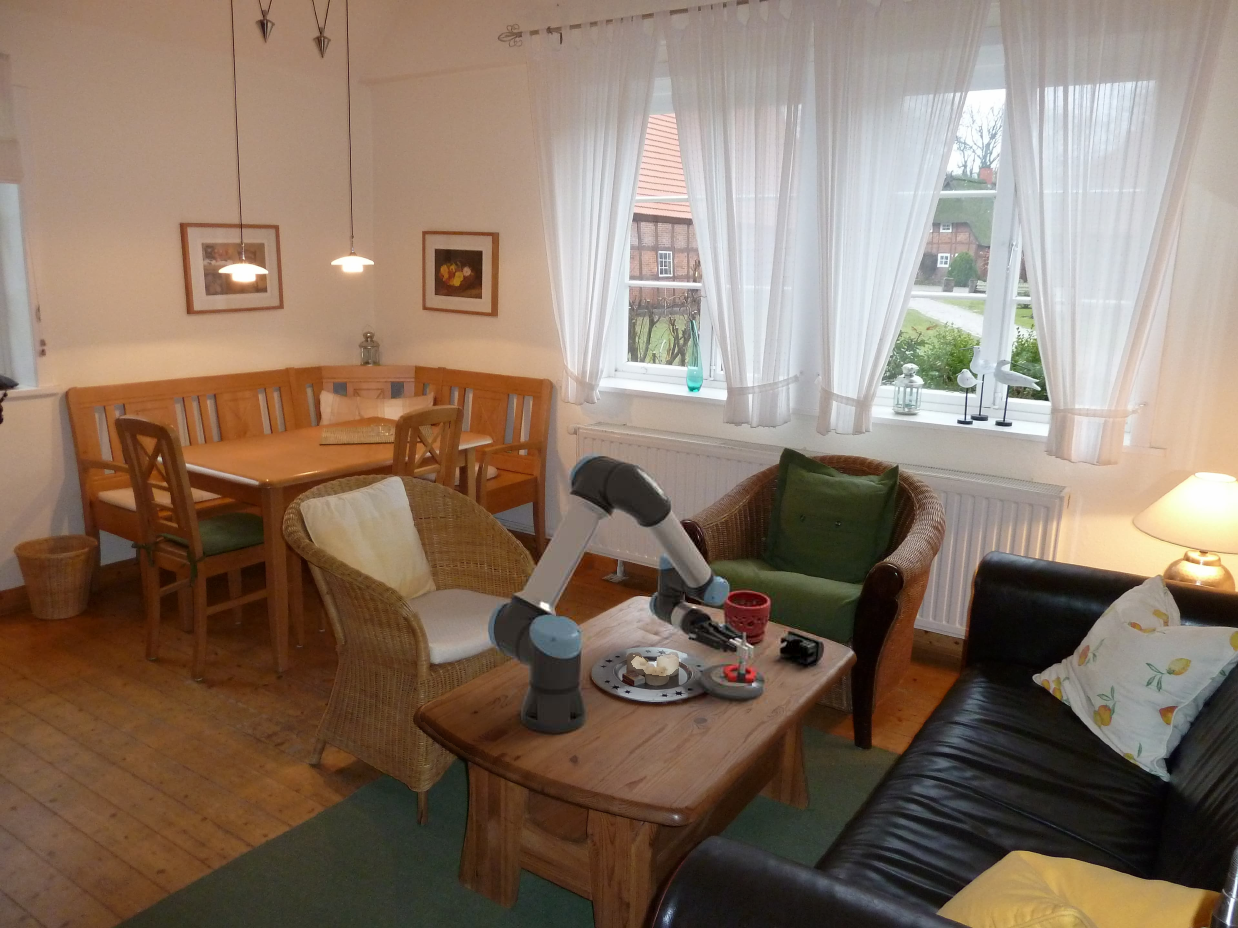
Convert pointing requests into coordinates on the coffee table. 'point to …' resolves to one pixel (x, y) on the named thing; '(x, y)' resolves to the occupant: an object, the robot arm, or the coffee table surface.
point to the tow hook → (740, 669)
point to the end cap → (801, 649)
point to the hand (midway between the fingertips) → (749, 653)
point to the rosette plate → (730, 684)
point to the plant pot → (748, 614)
